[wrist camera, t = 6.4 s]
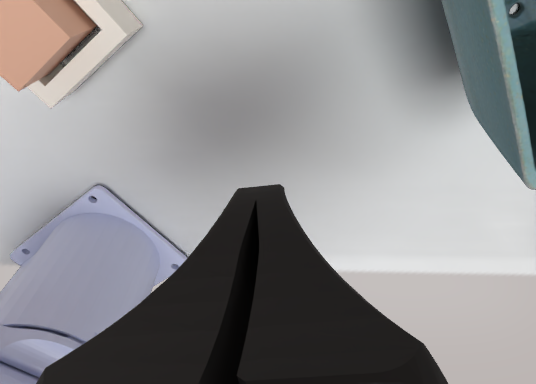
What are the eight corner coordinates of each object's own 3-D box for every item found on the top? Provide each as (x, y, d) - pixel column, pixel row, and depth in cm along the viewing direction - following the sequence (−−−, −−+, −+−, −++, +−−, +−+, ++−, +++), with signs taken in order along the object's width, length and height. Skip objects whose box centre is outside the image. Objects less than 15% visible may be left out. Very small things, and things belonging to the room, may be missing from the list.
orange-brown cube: (49, 73, 17) (18, 91, 15) (-19, 9, 16) (-64, 18, 14) (97, 25, 16) (70, 37, 14) (28, -48, 15) (-14, -48, 13)
